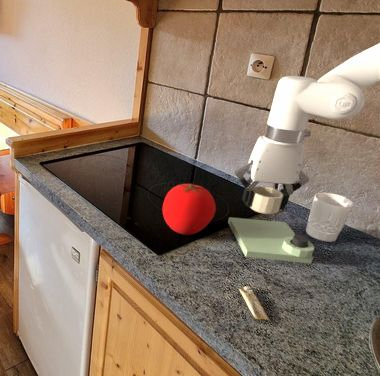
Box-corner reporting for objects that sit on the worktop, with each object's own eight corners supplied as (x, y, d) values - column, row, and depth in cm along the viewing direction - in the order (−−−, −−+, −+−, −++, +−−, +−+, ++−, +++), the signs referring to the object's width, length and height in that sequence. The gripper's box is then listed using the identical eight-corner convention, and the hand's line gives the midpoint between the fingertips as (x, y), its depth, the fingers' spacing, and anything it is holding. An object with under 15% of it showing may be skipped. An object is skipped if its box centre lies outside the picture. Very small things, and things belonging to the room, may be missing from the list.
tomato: (158, 237, 99) (166, 191, 94) (160, 215, 109) (167, 172, 104) (211, 246, 96) (222, 199, 91) (208, 223, 106) (218, 179, 101)
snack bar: (272, 321, 73) (257, 315, 73) (267, 326, 74) (252, 321, 73) (251, 286, 81) (238, 281, 81) (247, 291, 82) (234, 286, 82)
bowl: (272, 203, 100) (277, 187, 98) (282, 216, 94) (287, 199, 92) (243, 200, 101) (247, 184, 99) (251, 213, 95) (256, 196, 93)
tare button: (303, 242, 93) (305, 235, 92) (308, 249, 90) (311, 242, 90) (289, 240, 93) (291, 234, 93) (294, 247, 91) (296, 241, 90)
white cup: (343, 245, 98) (358, 209, 93) (306, 239, 100) (319, 203, 96) (334, 230, 104) (347, 195, 100) (299, 224, 107) (311, 190, 102)
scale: (286, 228, 105) (289, 216, 103) (314, 265, 90) (319, 252, 89) (227, 222, 107) (230, 211, 105) (246, 258, 92) (249, 245, 90)
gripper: (318, 132, 92) (295, 201, 99) (237, 126, 94) (221, 195, 101) (334, 142, 85) (308, 216, 93) (247, 136, 87) (229, 209, 95)
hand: (263, 205), depth 97 cm, fingers closed on bowl, 6 cm apart
